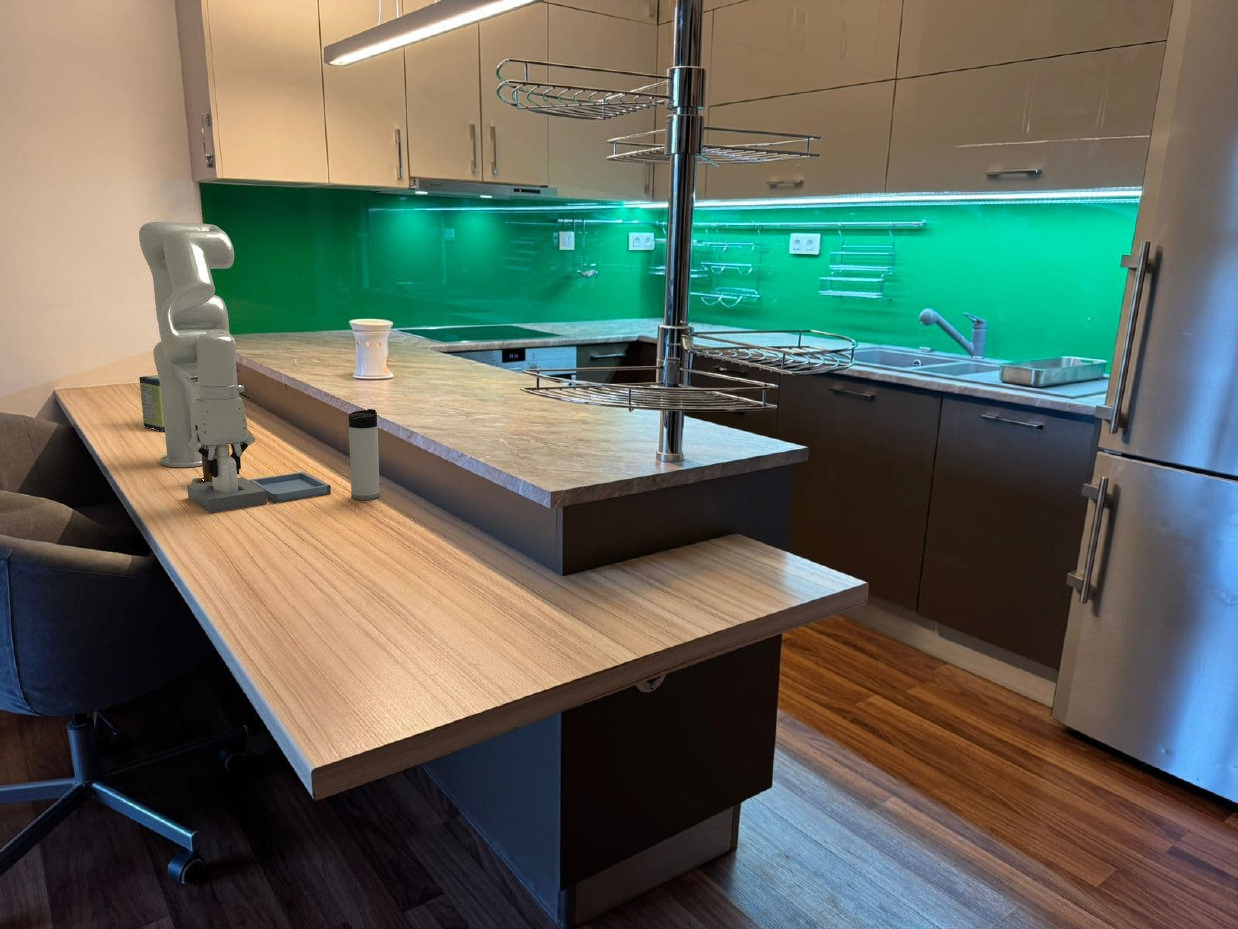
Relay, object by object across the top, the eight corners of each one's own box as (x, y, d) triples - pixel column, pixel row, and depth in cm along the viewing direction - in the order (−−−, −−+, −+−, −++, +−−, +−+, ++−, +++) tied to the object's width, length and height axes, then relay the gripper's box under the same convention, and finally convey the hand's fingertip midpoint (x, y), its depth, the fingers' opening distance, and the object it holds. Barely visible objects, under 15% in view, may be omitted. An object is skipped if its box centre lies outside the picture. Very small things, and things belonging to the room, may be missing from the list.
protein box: (211, 425, 262) (207, 375, 259) (162, 432, 250) (157, 380, 246) (191, 420, 268) (187, 371, 264) (142, 427, 255) (137, 376, 251)
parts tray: (249, 488, 198) (248, 479, 197) (303, 479, 206) (303, 471, 206) (274, 503, 187) (274, 494, 187) (330, 493, 196) (330, 485, 195)
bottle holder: (188, 498, 188) (186, 485, 188) (243, 489, 196) (242, 477, 196) (209, 513, 178) (208, 499, 178) (266, 503, 186) (266, 490, 186)
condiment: (235, 483, 201) (232, 434, 199) (196, 487, 197) (192, 437, 194) (230, 476, 207) (226, 428, 204) (191, 479, 203) (187, 430, 200)
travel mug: (386, 495, 197) (384, 410, 192) (367, 502, 191) (364, 414, 186) (365, 491, 199) (362, 407, 194) (345, 497, 193) (342, 411, 188)
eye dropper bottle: (218, 497, 184) (213, 443, 181) (212, 490, 188) (207, 438, 185) (239, 494, 187) (235, 441, 183) (233, 487, 191) (229, 435, 188)
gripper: (251, 386, 190) (256, 465, 195) (171, 392, 179) (178, 476, 183) (264, 392, 185) (269, 472, 189) (182, 398, 173) (189, 484, 178)
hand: (224, 473), depth 186 cm, fingers closed on eye dropper bottle, 3 cm apart
